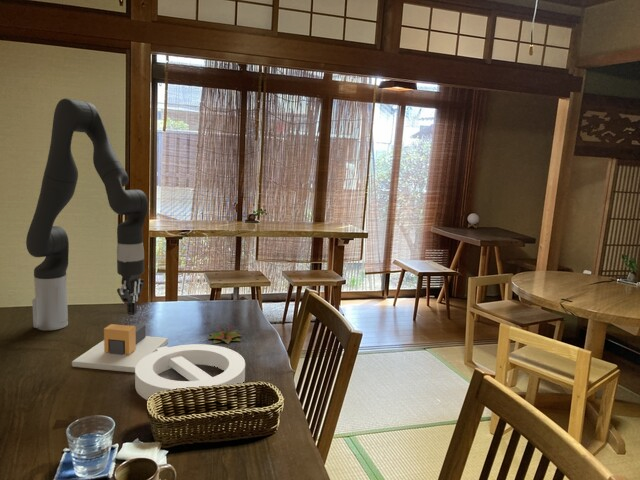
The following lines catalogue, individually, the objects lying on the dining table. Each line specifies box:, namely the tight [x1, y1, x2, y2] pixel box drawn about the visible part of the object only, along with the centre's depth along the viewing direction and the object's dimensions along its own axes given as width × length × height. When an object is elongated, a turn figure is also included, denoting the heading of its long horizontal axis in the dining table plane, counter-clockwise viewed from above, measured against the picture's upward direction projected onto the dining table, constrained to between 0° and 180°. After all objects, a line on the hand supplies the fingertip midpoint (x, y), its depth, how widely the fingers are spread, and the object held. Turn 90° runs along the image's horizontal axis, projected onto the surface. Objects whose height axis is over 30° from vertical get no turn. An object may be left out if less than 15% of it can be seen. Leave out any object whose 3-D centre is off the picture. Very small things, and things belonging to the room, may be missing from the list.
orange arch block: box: [103, 323, 136, 354], centre depth 141 cm, size 7×4×7 cm, turn 84°
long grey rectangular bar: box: [110, 323, 146, 355], centre depth 146 cm, size 4×14×4 cm, turn 174°
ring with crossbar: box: [134, 343, 246, 401], centre depth 130 cm, size 28×28×5 cm
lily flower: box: [207, 325, 242, 345], centre depth 160 cm, size 12×12×5 cm
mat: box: [71, 335, 169, 373], centre depth 144 cm, size 18×22×2 cm
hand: (132, 314), depth 147 cm, fingers closed
